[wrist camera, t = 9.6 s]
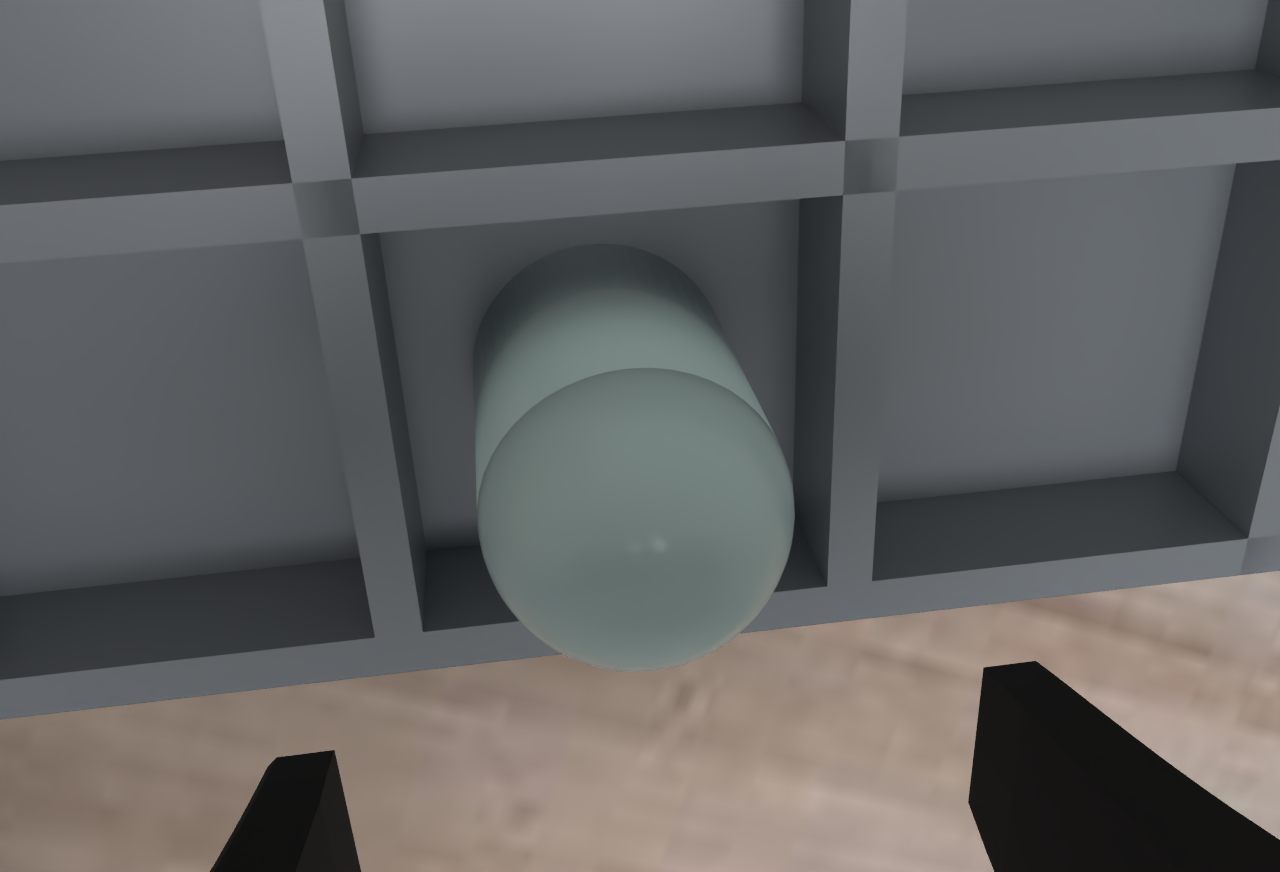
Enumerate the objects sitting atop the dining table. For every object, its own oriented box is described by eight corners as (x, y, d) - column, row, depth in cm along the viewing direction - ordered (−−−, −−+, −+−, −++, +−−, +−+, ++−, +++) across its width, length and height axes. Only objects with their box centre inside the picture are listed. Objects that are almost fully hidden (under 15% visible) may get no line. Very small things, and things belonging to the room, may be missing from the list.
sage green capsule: (486, 484, 22) (497, 760, 16) (459, 255, 20) (460, 467, 14) (723, 459, 22) (826, 719, 16) (721, 233, 20) (839, 429, 14)
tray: (-22, 605, 23) (-97, 730, 20) (-416, -455, 15) (-640, -520, 12) (1179, 476, 25) (1280, 570, 22) (1375, -498, 17) (1570, -562, 14)
